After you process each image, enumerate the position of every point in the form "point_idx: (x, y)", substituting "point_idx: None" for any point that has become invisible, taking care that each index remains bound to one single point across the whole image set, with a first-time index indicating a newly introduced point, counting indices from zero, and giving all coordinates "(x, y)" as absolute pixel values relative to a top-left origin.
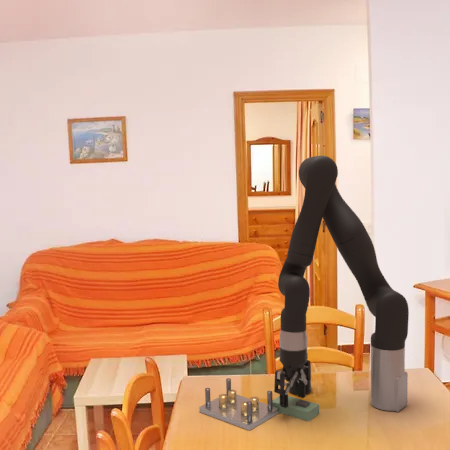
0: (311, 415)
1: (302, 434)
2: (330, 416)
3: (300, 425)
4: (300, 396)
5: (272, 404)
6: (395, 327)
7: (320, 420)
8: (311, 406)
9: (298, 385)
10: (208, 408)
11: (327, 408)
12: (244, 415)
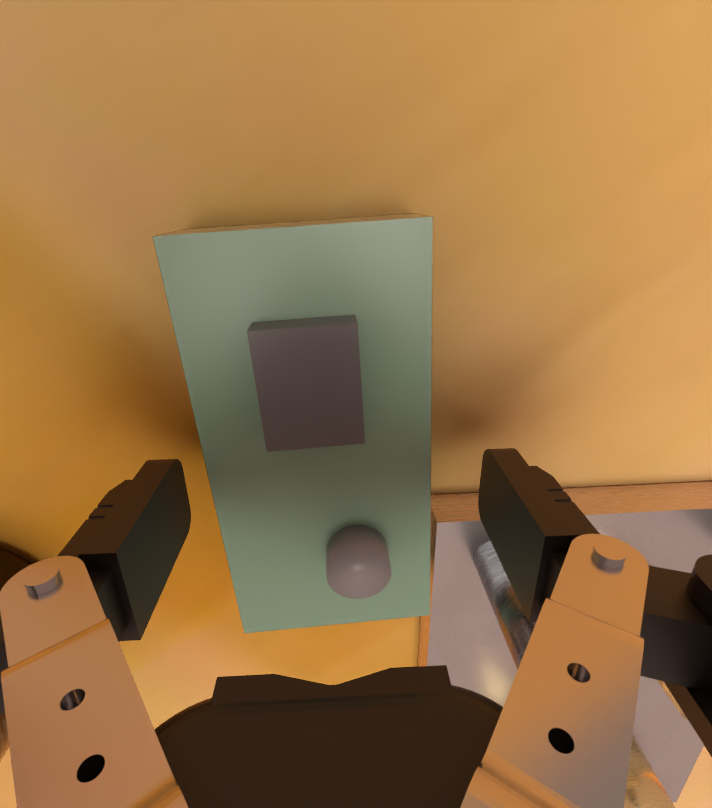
0: (354, 218)
1: (694, 91)
2: (153, 77)
3: (527, 227)
4: (183, 498)
5: (495, 573)
6: None
7: (314, 119)
8: (276, 279)
9: (143, 614)
10: (674, 771)
11: (26, 228)
12: None
